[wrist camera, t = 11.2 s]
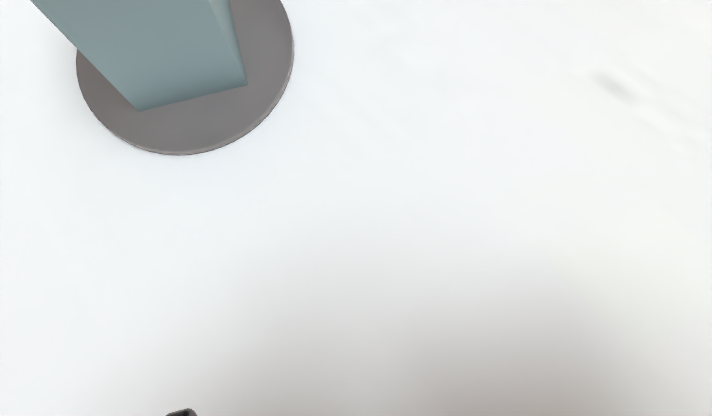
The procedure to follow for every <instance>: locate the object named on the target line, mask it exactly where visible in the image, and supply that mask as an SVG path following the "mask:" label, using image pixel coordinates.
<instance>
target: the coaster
mask: <svg viewBox="0 0 712 416" xmlns="http://www.w3.org/2000/svg"><path fill="white" fill-rule="evenodd" d="M229 4H230V8H231V12H232V17H233V21H234V26H235V30H236V34H237V39H238V43H239V48H240V52H241V57H242V61H243V65H244V70H245V74H246V79H247V83H248V85H246V86H242V87H237V88H233V89H229V90H225V91H221V92H217V93H213V94H209V95H205V96H201V97H197V98H193V99H189V100H185V101H181V102H177V103H173V104H169V105H165V106H160V107H156V108H152V109H148V110H144V111H140V112H139V111H138V110H137V109H136V108H135V107H134V106H133V105H132V104H131V103H130V102H129V101H128V100H127V99H126V98H125V97H124V96H123V95H122V94H121V93H120V92H119V91H118V90H117V89H116V88H115V87H114V86H113V85H112V84H111V83H110V82H109V81H108V80H107V79H106V78H105V77H104V75H103V74H102V73H101V72H100V71H99V70H98V69H97V68H96V67H95V66H94V65H93V64H92V63H91V62H90V61H89V60H88V59H87V58H86V57H85V56H84V55H83V54H82V53H81V52H80V51H79V50H78V49H77V56H76V69H77V77H78V82H79V86H80V89H81V92H82V94H83V97H84V99H85V101H86V103H87V104H88V106H89V108H90V110H91V111H92V112H93V113H94V115H95V116H96V117H97V118H98V120H99V121H101V122H102V123H103V124H104V125H105V126H106V127H107V128H108V129H109V130H110V131H112V132H113V133H114V134H115V135H117V136H118V137H120V138H121V139H123V140H124V141H126V142H128V143H130V144H132V145H134V146H136V147H138V148H141V149H144V150H147V151H150V152H155V153H160V154H169V155H188V154H196V153H202V152H207V151H210V150H214V149H217V148H220V147H223V146H225V145H227V144H229V143H231V142H234V141H236V140H237V139H239V138H241V137H242V136H244V135H245V134H247V133H248V132H250V131H251V130H252V129H254V128H255V127H256V126H257V125H259V124H260V123H261V122H262V121H263V120H264V119H265V118H266V117H267V116H268V115H269V113H270V112H271V111H272V109H273V108H274V107H275V106H276V104H277V103H278V101H279V99H280V98H281V96H282V94H283V93H284V90H285V88H286V86H287V83H288V81H289V78H290V74H291V70H292V66H293V57H294V42H293V36H292V31H291V26H290V23H289V20H288V17H287V14H286V11H285V9H284V7H283V5H282V3H281V1H280V0H229Z"/></svg>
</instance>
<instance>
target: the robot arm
mask: <svg viewBox="0 0 712 416" xmlns="http://www.w3.org/2000/svg"><path fill="white" fill-rule="evenodd" d="M166 416H197V415H196V413H195V412H194V411H193V410H192V409H188V408H187V409H184V410H180V411H176V412H172V413H169V414H167V415H166Z"/></svg>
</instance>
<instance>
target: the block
mask: <svg viewBox="0 0 712 416" xmlns="http://www.w3.org/2000/svg"><path fill="white" fill-rule="evenodd" d="M31 2H32V3H33V4H34V5H35V6H36V7H37V8H38V9H39V10H40V11H41V12H42V13H43V14H44V15H45V16H46V17H47V18H48V19H49V20H50V21H51V22H52V23H53V24H54V25H55V26H56V27H57V28H58V29H59V30H60V31H61V32H62V33H63V34H64V35H65V36H66V37H67V39H68V40H69V41H70V42H71V43H72V44H73V45H74V46H75V47H76V48H77V49H78V50H79V51H80V52H81V53H82V54H83V55H84V56H85V57H86V58H87V59H88V60H89V61H90V62H91V63H92V64H93V65H94V66H95V67H96V68H97V69H98V70H99V71H100V72H101V73H102V74H103V75H104V77H105V78H106V79H107V80H108V81H109V82H110V83H111V84H112V85H113V86H114V87H115V88H116V89H117V90H118V91H119V92H120V93H121V94H122V95H123V96H124V97H125V98H126V99H127V100H128V101H129V102H130V103H131V104H132V105H133V106H134V107H135V108H136V109H137V110H138V111H139V112H140V111H144V110H148V109H152V108H156V107H160V106H165V105H169V104H173V103H177V102H181V101H185V100H189V99H193V98H197V97H201V96H205V95H209V94H213V93H217V92H221V91H225V90H229V89H233V88H237V87H242V86H246V85H248V83H247V79H246V74H245V70H244V65H243V61H242V57H241V52H240V48H239V43H238V39H237V34H236V30H235V26H234V21H233V17H232V12H231V8H230V4H229V0H31Z"/></svg>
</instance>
